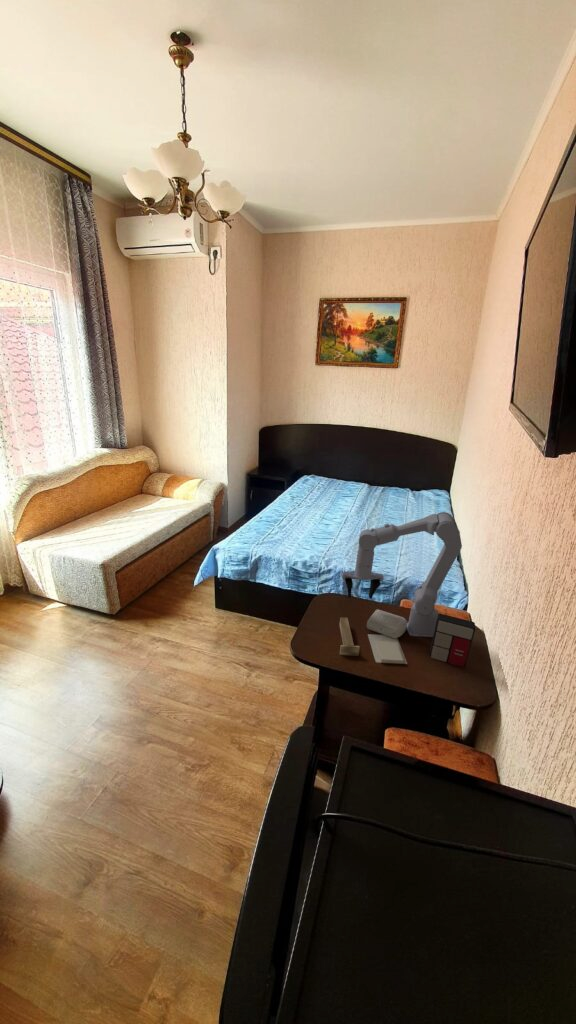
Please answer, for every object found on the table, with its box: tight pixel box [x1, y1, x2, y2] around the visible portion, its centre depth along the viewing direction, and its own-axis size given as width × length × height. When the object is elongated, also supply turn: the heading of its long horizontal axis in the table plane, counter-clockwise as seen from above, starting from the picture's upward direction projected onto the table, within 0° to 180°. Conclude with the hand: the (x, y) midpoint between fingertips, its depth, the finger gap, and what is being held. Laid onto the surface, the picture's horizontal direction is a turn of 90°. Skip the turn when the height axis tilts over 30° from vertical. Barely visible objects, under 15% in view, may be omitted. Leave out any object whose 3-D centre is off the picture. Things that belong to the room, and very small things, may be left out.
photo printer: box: [366, 608, 408, 639], centre depth 144 cm, size 10×4×12 cm
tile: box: [375, 641, 404, 665], centre depth 131 cm, size 7×2×9 cm
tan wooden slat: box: [339, 616, 361, 657], centre depth 136 cm, size 6×16×4 cm, turn 0°
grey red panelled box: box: [428, 612, 476, 668], centre depth 129 cm, size 11×4×15 cm, turn 68°
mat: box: [367, 633, 408, 665], centre depth 134 cm, size 10×14×1 cm
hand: (359, 596), depth 146 cm, fingers open, 7 cm apart
